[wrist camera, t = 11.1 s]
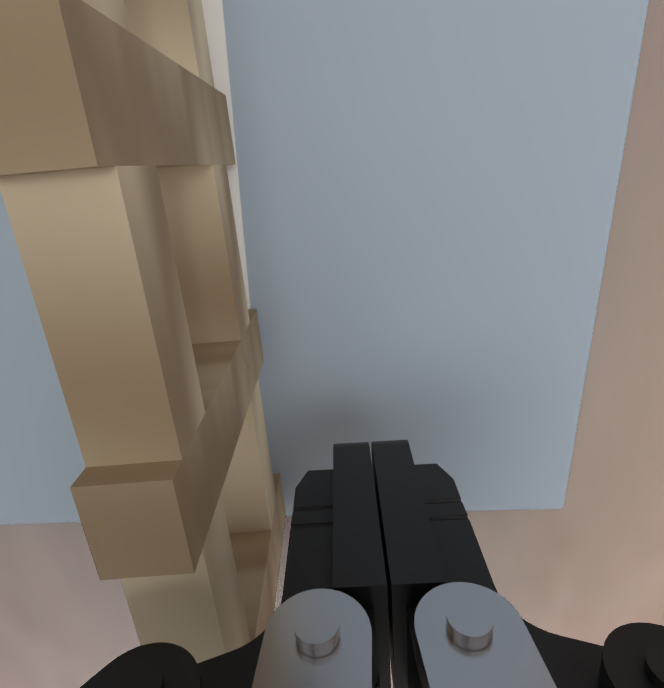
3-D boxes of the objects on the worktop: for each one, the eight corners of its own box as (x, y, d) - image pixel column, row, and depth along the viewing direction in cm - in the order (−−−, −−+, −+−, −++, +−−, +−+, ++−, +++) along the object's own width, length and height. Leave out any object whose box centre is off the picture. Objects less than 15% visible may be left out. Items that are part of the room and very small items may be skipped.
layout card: (-142, 520, 15) (-156, 530, 15) (-767, -848, 7) (-841, -915, 6) (557, 499, 15) (563, 509, 15) (785, -904, 7) (817, -979, 6)
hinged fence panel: (116, -200, 9) (-510, -1271, 2) (182, -208, 9) (-253, -1308, 2) (245, 516, 14) (176, 812, 8) (285, 512, 14) (250, 807, 8)
